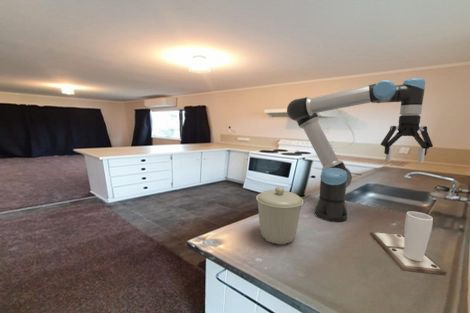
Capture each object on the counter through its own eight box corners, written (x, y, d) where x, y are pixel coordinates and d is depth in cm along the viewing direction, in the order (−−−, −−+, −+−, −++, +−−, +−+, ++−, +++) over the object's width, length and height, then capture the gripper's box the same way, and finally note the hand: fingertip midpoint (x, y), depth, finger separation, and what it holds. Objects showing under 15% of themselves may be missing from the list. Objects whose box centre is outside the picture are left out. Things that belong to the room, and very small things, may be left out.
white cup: (395, 251, 76) (401, 211, 74) (413, 251, 77) (419, 211, 74) (412, 264, 70) (419, 219, 67) (431, 263, 70) (439, 219, 68)
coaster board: (402, 270, 69) (403, 265, 68) (370, 234, 91) (370, 230, 91) (445, 275, 67) (446, 270, 66) (401, 237, 89) (402, 233, 89)
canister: (245, 237, 87) (247, 186, 84) (271, 223, 100) (272, 178, 97) (286, 256, 75) (289, 198, 72) (308, 237, 88) (312, 187, 85)
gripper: (435, 115, 99) (428, 161, 102) (375, 115, 103) (370, 159, 106) (448, 115, 92) (440, 164, 95) (383, 114, 96) (378, 162, 99)
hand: (403, 161), depth 100 cm, fingers open, 13 cm apart
